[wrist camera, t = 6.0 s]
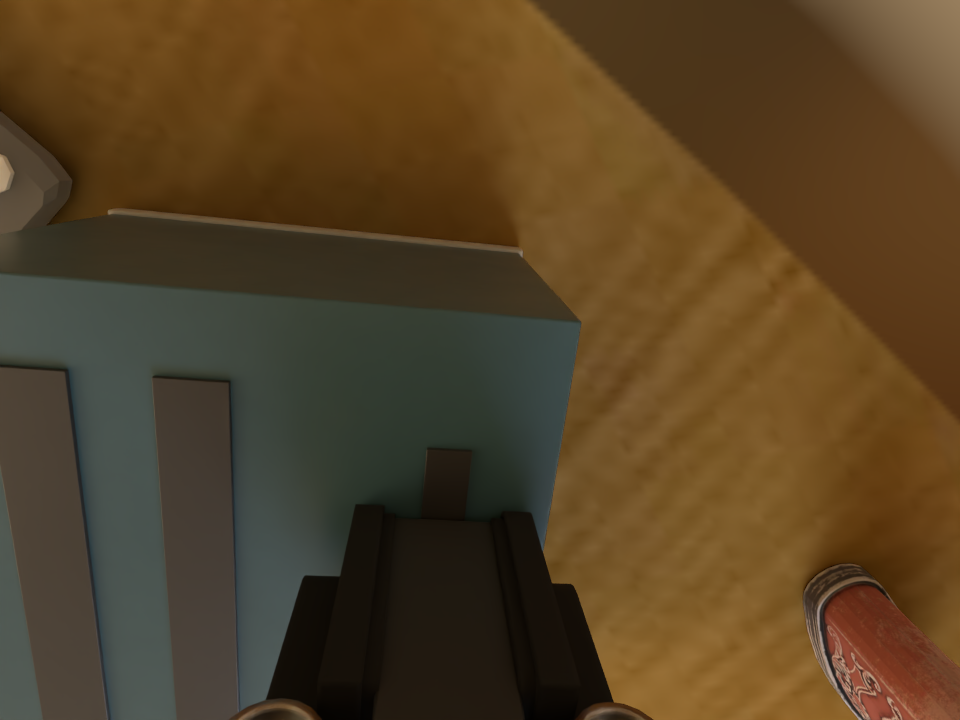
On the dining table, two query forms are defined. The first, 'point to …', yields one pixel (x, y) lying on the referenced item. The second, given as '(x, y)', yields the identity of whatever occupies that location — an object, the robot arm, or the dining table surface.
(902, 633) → the lighter
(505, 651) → the slider
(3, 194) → the key chain
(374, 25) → the dining table surface
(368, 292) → the toaster
